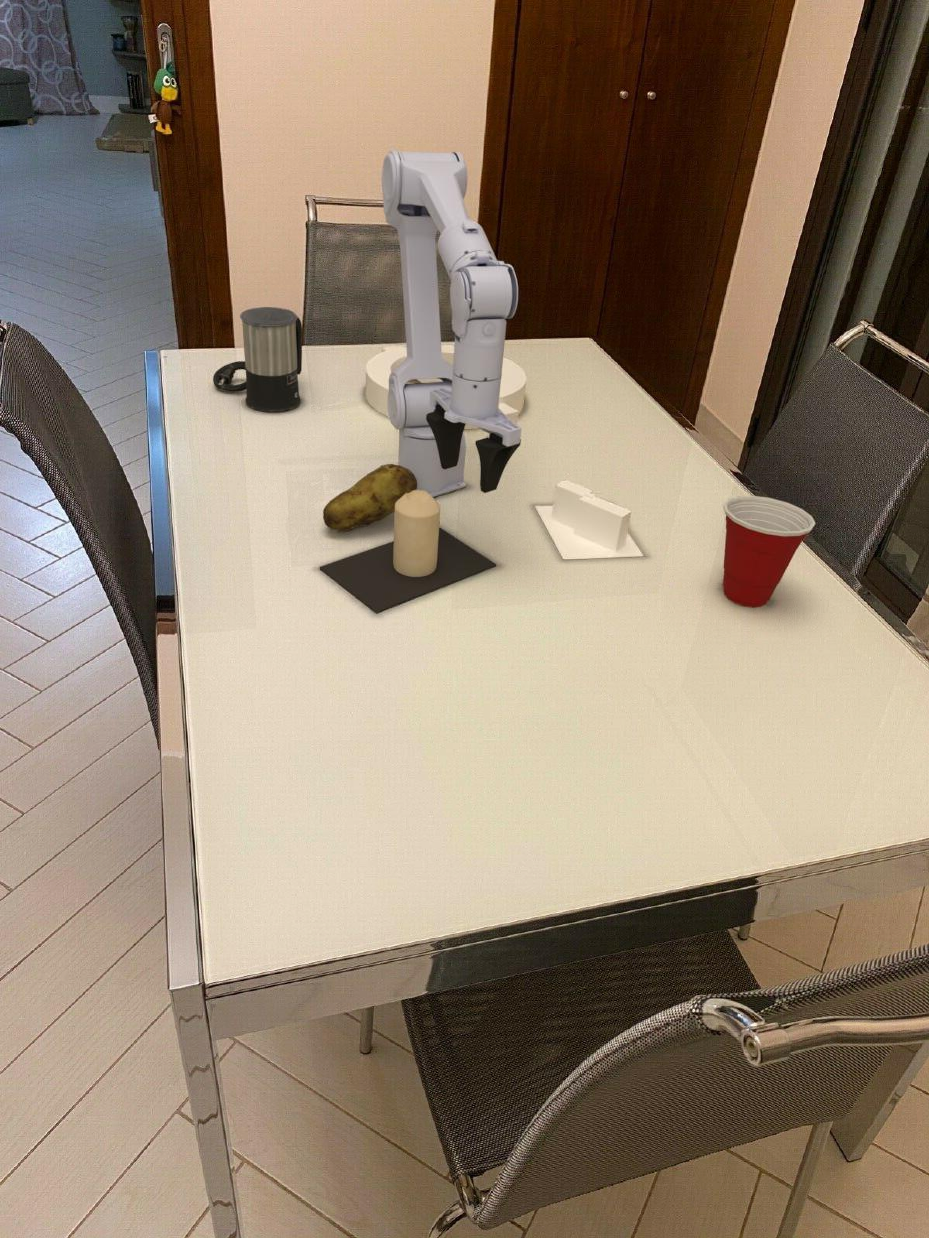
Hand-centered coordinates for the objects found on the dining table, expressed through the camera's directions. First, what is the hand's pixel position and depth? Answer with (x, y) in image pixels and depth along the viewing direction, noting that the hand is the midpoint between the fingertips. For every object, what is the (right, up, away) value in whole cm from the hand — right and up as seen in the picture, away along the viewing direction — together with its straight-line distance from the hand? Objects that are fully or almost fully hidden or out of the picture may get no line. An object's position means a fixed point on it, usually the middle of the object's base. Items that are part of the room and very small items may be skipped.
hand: (468, 478), depth 117 cm
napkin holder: (+17, -5, +13) cm, 22 cm away
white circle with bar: (-4, +22, +50) cm, 54 cm away
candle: (-7, -11, +1) cm, 13 cm away
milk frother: (-36, +21, +44) cm, 61 cm away
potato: (-13, -5, +10) cm, 17 cm away
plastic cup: (+35, -15, +2) cm, 38 cm away
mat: (-7, -11, +1) cm, 13 cm away
